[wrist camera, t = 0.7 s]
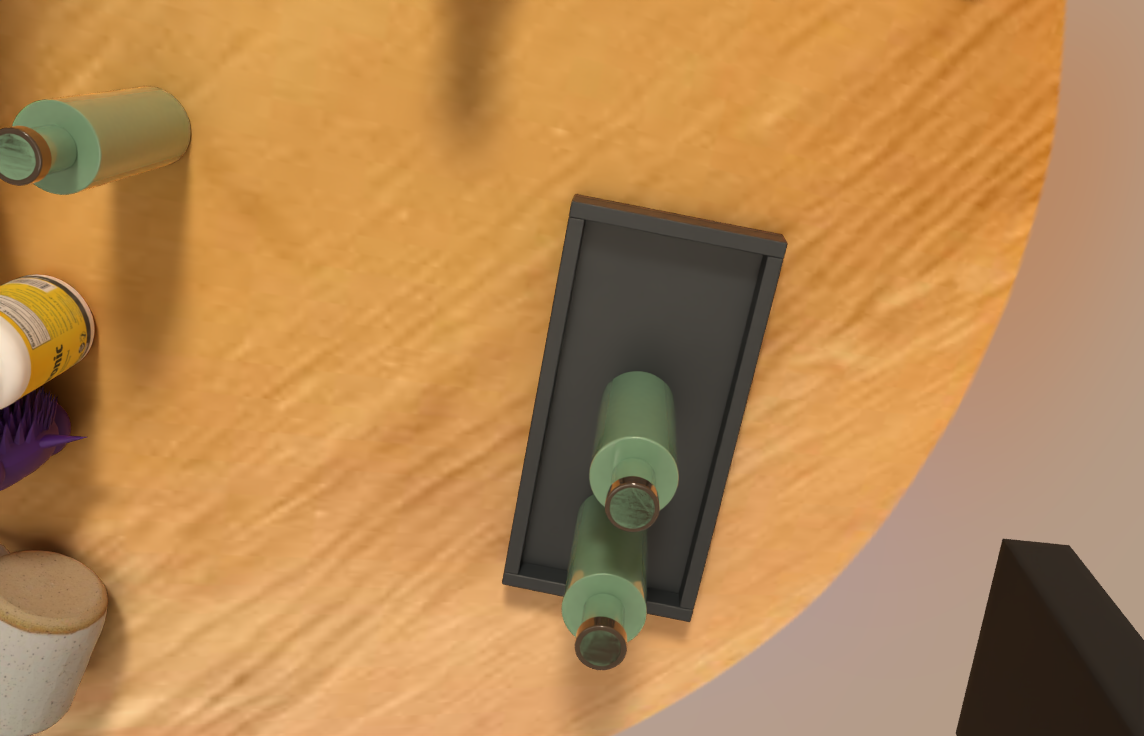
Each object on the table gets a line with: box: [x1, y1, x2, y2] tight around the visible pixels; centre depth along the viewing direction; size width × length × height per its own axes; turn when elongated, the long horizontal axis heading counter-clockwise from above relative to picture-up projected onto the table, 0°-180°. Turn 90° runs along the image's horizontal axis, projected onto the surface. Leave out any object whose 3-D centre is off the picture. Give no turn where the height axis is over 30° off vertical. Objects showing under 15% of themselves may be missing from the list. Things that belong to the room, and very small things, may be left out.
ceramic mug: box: [0, 544, 108, 736], centre depth 58 cm, size 11×8×8 cm
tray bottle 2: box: [562, 494, 648, 670], centre depth 51 cm, size 4×4×12 cm
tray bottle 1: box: [589, 371, 679, 532], centre depth 49 cm, size 4×4×12 cm
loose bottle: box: [0, 86, 191, 195], centre depth 47 cm, size 4×4×12 cm
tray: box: [502, 194, 787, 622], centre depth 54 cm, size 22×11×2 cm, turn 170°
